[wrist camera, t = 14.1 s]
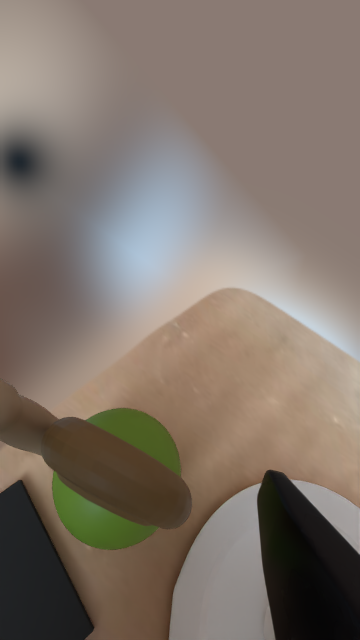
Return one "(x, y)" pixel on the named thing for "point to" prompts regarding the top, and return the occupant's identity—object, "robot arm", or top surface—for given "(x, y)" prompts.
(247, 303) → the top surface
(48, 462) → the snail figurine
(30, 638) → the coaster
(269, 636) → the candle holder
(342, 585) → the robot arm
